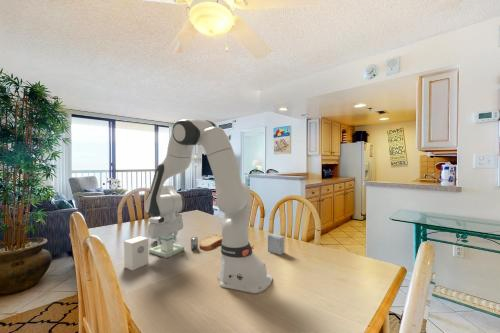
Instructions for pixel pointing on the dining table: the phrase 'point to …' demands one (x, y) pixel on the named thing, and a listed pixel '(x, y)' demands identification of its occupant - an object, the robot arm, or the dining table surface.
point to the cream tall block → (136, 252)
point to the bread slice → (210, 242)
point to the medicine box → (276, 244)
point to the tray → (164, 254)
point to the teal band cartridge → (167, 243)
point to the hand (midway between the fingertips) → (167, 242)
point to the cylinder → (194, 243)
